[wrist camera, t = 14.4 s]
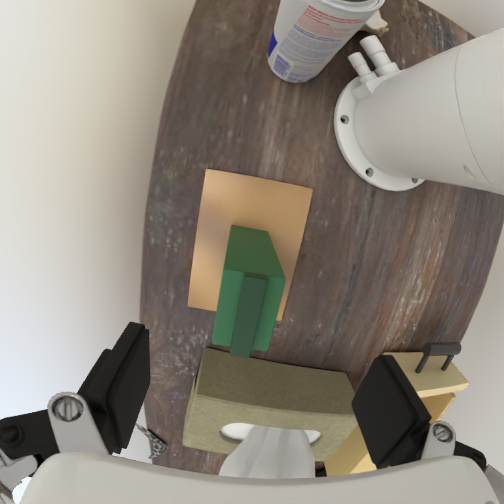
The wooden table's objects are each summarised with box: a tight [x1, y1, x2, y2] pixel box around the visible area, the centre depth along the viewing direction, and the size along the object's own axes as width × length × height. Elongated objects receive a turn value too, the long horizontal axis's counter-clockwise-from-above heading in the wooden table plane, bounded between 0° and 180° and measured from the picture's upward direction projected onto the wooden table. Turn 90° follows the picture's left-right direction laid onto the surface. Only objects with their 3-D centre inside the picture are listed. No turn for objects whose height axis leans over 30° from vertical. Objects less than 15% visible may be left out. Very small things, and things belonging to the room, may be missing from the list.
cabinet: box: [324, 425, 390, 477], centre depth 32 cm, size 14×13×10 cm
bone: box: [358, 9, 389, 38], centre depth 17 cm, size 9×6×10 cm
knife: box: [135, 423, 166, 459], centre depth 36 cm, size 13×1×5 cm
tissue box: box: [182, 347, 358, 479], centre depth 25 cm, size 19×10×16 cm, turn 74°
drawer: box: [383, 342, 469, 424], centre depth 29 cm, size 17×11×8 cm
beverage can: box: [268, 0, 385, 83], centre depth 15 cm, size 5×5×15 cm
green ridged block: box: [212, 225, 286, 358], centre depth 21 cm, size 5×4×12 cm
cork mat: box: [188, 169, 313, 321], centre depth 27 cm, size 14×10×1 cm
